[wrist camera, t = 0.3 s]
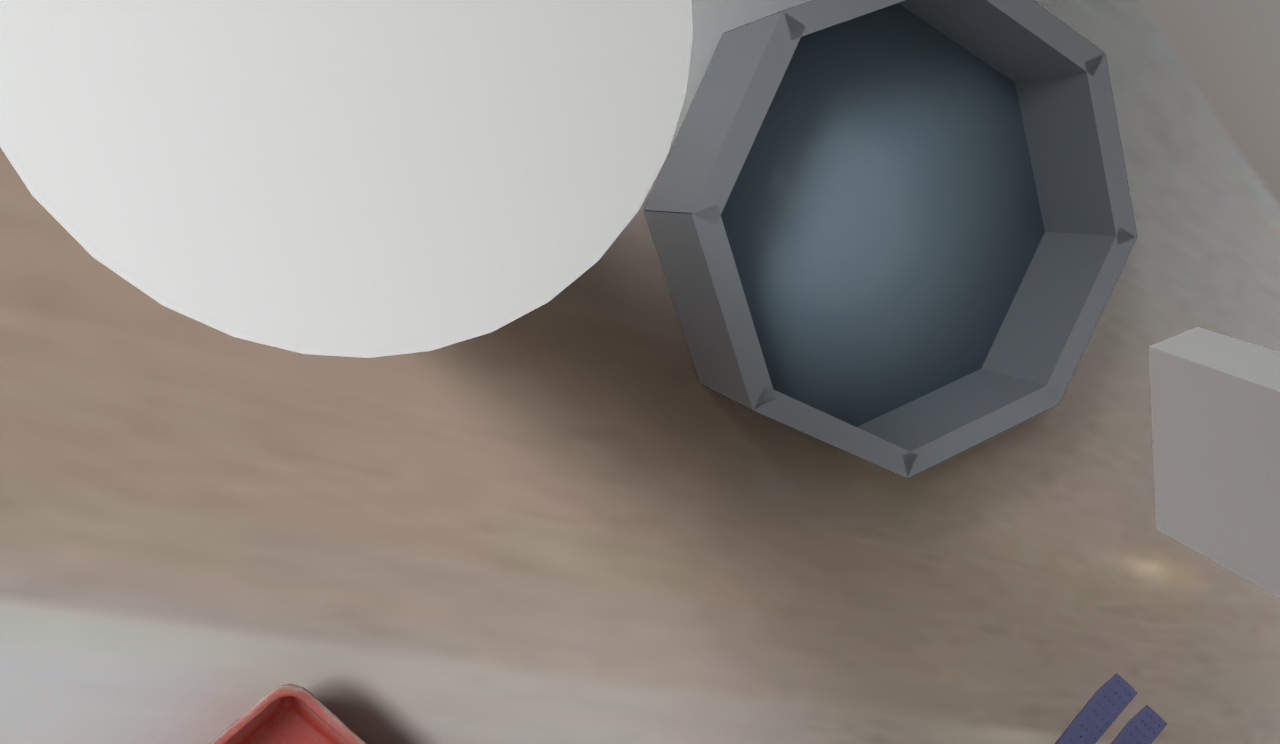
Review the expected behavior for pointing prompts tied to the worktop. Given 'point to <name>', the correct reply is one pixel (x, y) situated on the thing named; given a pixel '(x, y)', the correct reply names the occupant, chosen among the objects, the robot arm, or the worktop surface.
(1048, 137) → the bowl
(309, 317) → the cylindrical container
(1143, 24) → the worktop surface
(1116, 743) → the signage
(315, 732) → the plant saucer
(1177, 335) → the robot arm
